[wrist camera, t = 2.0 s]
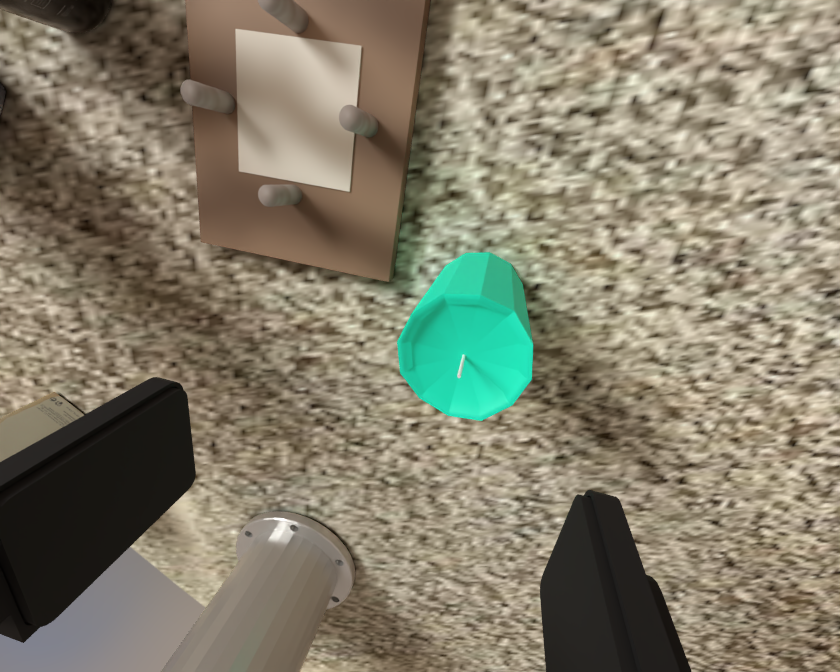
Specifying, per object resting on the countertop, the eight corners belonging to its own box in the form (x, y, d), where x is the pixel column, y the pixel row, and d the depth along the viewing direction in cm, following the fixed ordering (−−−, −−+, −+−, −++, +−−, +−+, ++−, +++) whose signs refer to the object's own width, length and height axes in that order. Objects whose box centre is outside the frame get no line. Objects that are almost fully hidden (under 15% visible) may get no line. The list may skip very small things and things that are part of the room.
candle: (533, 325, 26) (553, 427, 15) (449, 345, 28) (413, 449, 17) (511, 239, 25) (516, 285, 14) (423, 265, 26) (365, 325, 15)
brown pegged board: (393, 277, 27) (374, 293, 23) (212, 239, 29) (167, 248, 25) (438, -60, 20) (422, -117, 16) (195, -83, 22) (129, -141, 18)
